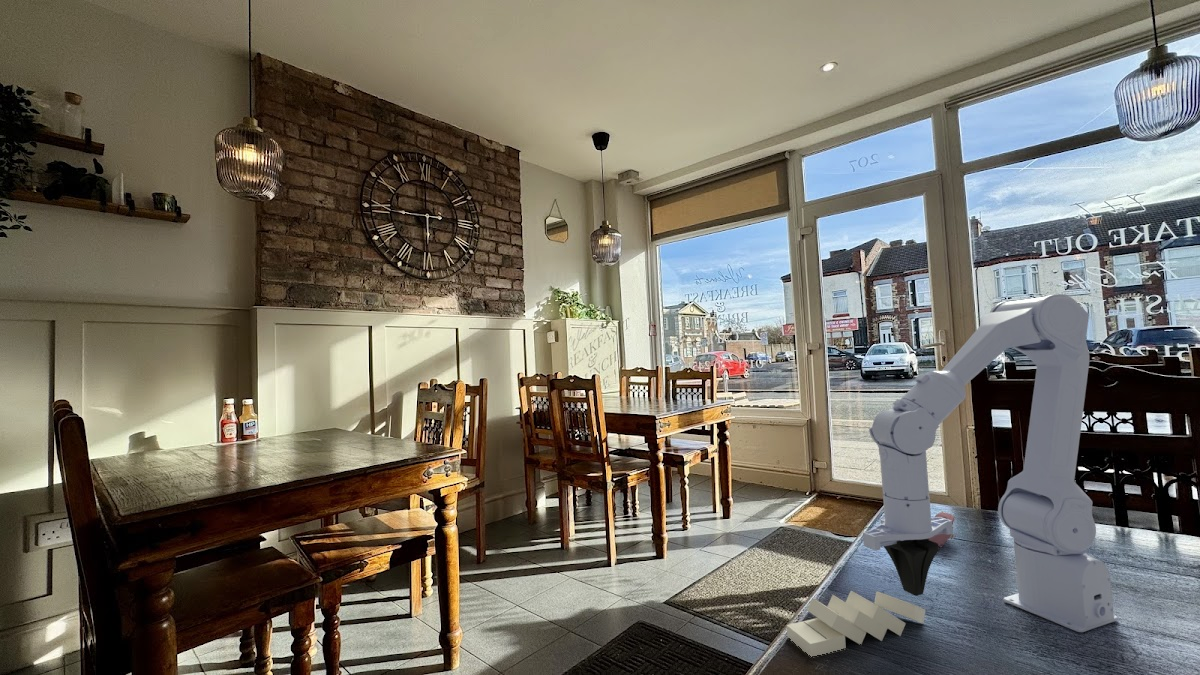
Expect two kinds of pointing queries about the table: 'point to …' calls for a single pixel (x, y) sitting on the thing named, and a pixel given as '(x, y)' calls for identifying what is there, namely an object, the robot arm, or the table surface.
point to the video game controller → (942, 538)
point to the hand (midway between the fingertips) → (913, 592)
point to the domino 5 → (900, 607)
